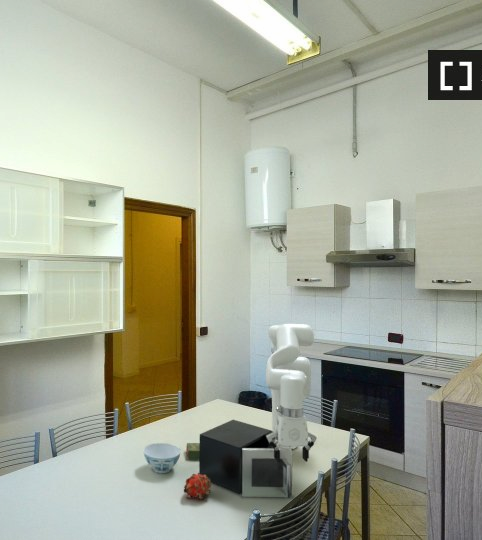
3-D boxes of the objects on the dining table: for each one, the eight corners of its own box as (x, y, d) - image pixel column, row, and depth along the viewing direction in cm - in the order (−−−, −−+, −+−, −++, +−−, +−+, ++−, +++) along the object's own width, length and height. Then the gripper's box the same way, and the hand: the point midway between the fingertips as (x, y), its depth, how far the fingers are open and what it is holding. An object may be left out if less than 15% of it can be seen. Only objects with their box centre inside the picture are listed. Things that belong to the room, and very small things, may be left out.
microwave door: (297, 506, 147) (298, 457, 147) (246, 505, 147) (246, 456, 147) (290, 495, 154) (290, 448, 154) (241, 494, 154) (241, 448, 154)
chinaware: (185, 465, 177) (185, 446, 177) (172, 481, 164) (172, 461, 164) (152, 458, 184) (152, 440, 184) (137, 473, 170) (137, 453, 170)
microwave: (277, 475, 170) (277, 432, 170) (245, 497, 153) (245, 449, 153) (232, 459, 184) (233, 419, 184) (199, 477, 167) (199, 434, 167)
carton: (225, 460, 182) (225, 450, 182) (187, 459, 183) (187, 449, 183) (222, 452, 191) (222, 442, 191) (186, 451, 191) (186, 442, 191)
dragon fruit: (212, 496, 156) (187, 511, 149) (198, 475, 161) (173, 489, 155) (220, 484, 151) (194, 499, 144) (205, 463, 156) (180, 476, 150)
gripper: (270, 415, 145) (269, 465, 145) (321, 415, 145) (320, 465, 145) (263, 407, 152) (263, 455, 153) (311, 407, 153) (311, 455, 153)
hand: (291, 460), depth 149 cm, fingers open, 9 cm apart
